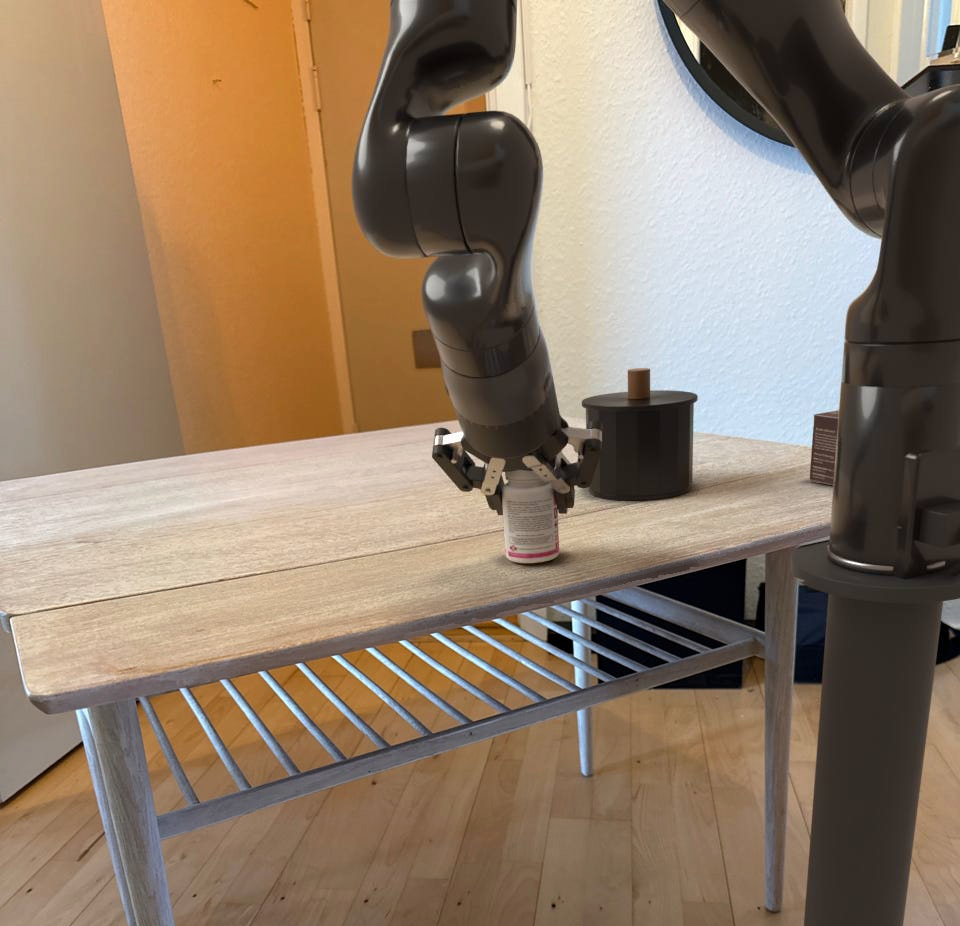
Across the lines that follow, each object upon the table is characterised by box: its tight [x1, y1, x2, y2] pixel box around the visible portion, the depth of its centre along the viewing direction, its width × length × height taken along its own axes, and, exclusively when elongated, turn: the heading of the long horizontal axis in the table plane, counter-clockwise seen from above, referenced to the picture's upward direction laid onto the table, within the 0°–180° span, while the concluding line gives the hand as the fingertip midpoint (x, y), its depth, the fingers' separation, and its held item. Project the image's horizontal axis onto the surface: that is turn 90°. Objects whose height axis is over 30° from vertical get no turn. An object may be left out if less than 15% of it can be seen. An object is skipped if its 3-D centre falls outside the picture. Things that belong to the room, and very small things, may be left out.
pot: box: [585, 403, 695, 502], centre depth 101 cm, size 11×11×10 cm
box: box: [809, 409, 839, 486], centre depth 98 cm, size 6×6×7 cm
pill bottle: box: [502, 470, 560, 564], centre depth 79 cm, size 5×5×8 cm
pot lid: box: [581, 367, 699, 411], centre depth 99 cm, size 12×12×4 cm
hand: (533, 505), depth 81 cm, fingers closed on pill bottle, 4 cm apart
